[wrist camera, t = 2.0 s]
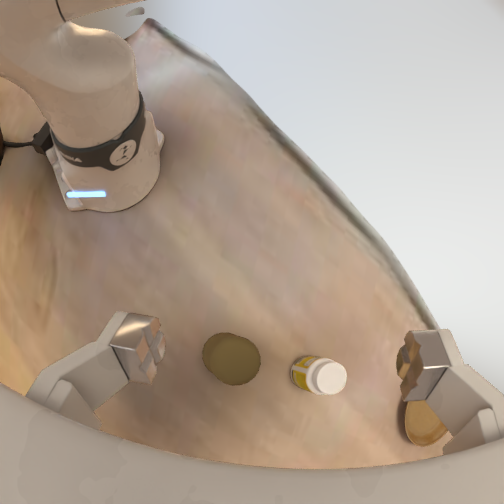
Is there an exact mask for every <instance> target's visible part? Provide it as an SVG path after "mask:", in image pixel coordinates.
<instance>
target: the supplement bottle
mask: <svg viewBox="0 0 504 504" xmlns="http://www.w3.org/2000/svg"><path fill="white" fill-rule="evenodd" d="M291 379H292V381H293V382H294V384H295V385H296V386H298V387H300V388H302V389H305V390H307V391H310V392H312V393H315V394H318V395H325V394H327V395H333V394H336V393H338V392H340V391H341V390H342V389H343V387H344V386H345V384H346V381H347V373H346V370H345V368H344V367H343V366H342V365H341V364H339V363H336V362H335V361H333V360H331V359H329V358H321V357H313V356H304V357H301V358H299V359H298V360H297V361H296V362H295V363H294V364H293V366H292V369H291Z"/></svg>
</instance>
